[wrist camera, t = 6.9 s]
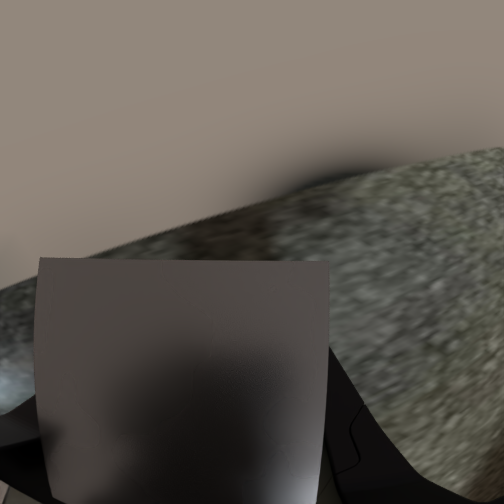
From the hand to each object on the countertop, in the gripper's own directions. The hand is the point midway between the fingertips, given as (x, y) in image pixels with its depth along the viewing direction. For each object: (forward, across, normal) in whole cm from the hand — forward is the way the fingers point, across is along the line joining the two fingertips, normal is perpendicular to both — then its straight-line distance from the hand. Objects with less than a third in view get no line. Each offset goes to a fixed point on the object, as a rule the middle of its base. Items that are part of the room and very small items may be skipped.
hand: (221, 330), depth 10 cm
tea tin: (+4, 0, +6) cm, 7 cm away
